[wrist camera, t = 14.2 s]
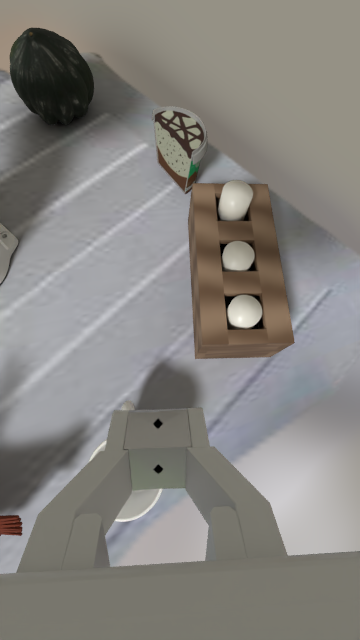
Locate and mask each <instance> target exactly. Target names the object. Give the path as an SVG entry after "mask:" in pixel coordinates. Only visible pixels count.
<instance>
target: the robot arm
mask: <svg viewBox="0 0 360 640" xmlns="http://www.w3.org/2000/svg"><path fill="white" fill-rule="evenodd" d="M5 237H6V238H5ZM17 245H18V239H17V238H16V237H15V236H14V235H13V234H12V233H11V232H10V231H9V230H7V229H6V228H5V227H4V226H3V225H2V224H1V223H0V284H1V282H2V281H3V279H4V278H5V276H6V274H7V271H8V268H9V262H10V257H11V255H12V253H13V252H14V250H15V249H16V247H17ZM167 488H186V491H187V493H188V494H189V496H190V497H191V499H192V500H193V502H194V503H195V505H196V506H197V508H198V510H199V511H200V513H201V514H202V516H203V517H204V519H205V520H206V522H207V523H208V525H209V530H208V539H207V550H206V559H205V561H197V562H182V563H165V564H150V565H134V566H119V567H110V562H109V556H108V551H107V545H106V539H105V535H106V533H107V532H108V530H109V528H110V527H111V525H112V524H113V522H114V520H115V519H116V517H117V516H118V514H119V513H120V511H121V509H122V508H123V506H124V505H125V503H126V501H127V500H128V498H129V497H130V495H131V494H132V491H135V490H148V489H167ZM0 640H360V551H355V552H339V553H324V554H308V555H292V556H288V555H287V552H286V549H285V547H284V544H283V541H282V538H281V535H280V532H279V529H278V526H277V523H276V520H275V517H274V514H273V511H272V508H271V505H270V503H269V502H268V501H267V500H266V499H265V498H264V497H263V496H262V495H261V494H260V493H259V492H258V491H257V490H256V488H254V486H253V485H252V484H251V483H250V482H248V481H247V479H245V478H244V476H243V475H242V474H241V473H240V472H239V471H238V470H237V469H236V468H235V467H234V466H233V465H232V464H231V463H230V462H229V461H228V460H227V459H226V458H225V457H224V456H223V455H222V454H221V453H220V452H219V451H218V450H217V449H216V448H215V447H210V445H209V440H208V435H207V429H206V424H205V418H204V413H203V409H202V408H183V409H158V410H114V412H113V414H112V419H111V423H110V428H109V433H108V437H107V442H106V446H105V451H100V452H99V453H98V454H97V455H96V456H95V457H94V458H93V459H92V460H91V461H90V462H89V463H88V464H87V465H86V466H85V467H84V468H83V469H82V470H81V471H80V472H79V473H78V474H77V475H76V476H75V477H74V478H73V479H72V480H71V481H70V482H69V483H68V484H67V485H66V486H65V487H64V489H63V490H62V491H61V492H60V493H59V494H58V495H57V496H56V497H55V498H54V499H53V500H52V501H51V502H50V503H49V504H48V505H47V506H46V507H45V508H44V509H43V510H42V511H41V512H40V513H39V514H38V517H37V519H36V522H35V525H34V527H33V530H32V532H31V535H30V538H29V540H28V543H27V546H26V548H25V551H24V554H23V556H22V559H21V562H20V564H19V567H18V570H17V572H16V573H9V574H0Z"/></svg>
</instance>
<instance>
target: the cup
mask: <svg viewBox="0 0 360 640" xmlns="http://www.w3.org/2000/svg"><path fill="white" fill-rule="evenodd" d="M122 410H135V408H134V404H133V403H132V402H131V401H126V402H125V403H124V404H123V406H122ZM106 442H107V440H105V441H104V442H103V443H101V444H100V445H99V446H98V447H97V449H96V450H95V451H94V453H93V454H92V456H91V458H90V460H89V462H90V461H91V460H92V459H93V458H94V457H95V456H96V455H97V454H98V453H99V452H100V451H105V446H106ZM161 492H162V489H148V490H135V491H132V494H131V495H130V497H129V498H128V500H127V501H126V503H125V505H124V506H123V508H122V509H121V511H120V513H119V514H118V516H117V517H116V519H115V520H114V521H131V520H134V519H137V518H139V517H141V516H143V515H144V514H145V513H147V512H148V511H149V510H150V509H151V508H152V507H153V506H154V505H155V503H156V502H157V500H158V498H159V497H160V494H161Z"/></svg>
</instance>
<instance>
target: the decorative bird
mask: <svg viewBox="0 0 360 640" xmlns="http://www.w3.org/2000/svg"><path fill="white" fill-rule="evenodd" d="M20 520H21V518H19V515H8V516H0V536H1V534H4V535H20V536H21V535H22V533H21V532H22V527H20V526H21V525H22V522H20Z"/></svg>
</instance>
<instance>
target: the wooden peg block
mask: <svg viewBox="0 0 360 640" xmlns="http://www.w3.org/2000/svg"><path fill="white" fill-rule="evenodd" d="M224 185H225V184H206V183H192V192H191V200H190V209H189V217H188V229H189V249H190V268H191V287H192V306H193V326H194V345H195V359H207V358H250V357H271V356H273V355H274V354H276V353H278V352H280V351H281V350H283V349H285V348H286V347H288V346H290V345H292V344H293V343H295V342H294V336H293V331H292V325H291V319H290V313H289V307H288V301H287V295H286V290H285V284H284V278H283V272H282V266H281V260H280V254H279V249H278V243H277V237H276V231H275V225H274V219H273V214H272V208H271V202H270V196H269V190H268V185H267V184H248V185H249V186H250V187H251V188H252V191H253V197H252V200H251V202H250V205H249V207H248V210H247V212H246V215H245V217H244V220H243V221H218V219H217V210H218V206H219V202H220V198H221V194H222V190H223V187H224ZM233 241H242V242H245V243H247V244H248V245H250V246H251V247H252V249H253V251H254V255H255V257H254V260H253V262H252V264H251V271H246V272H222V265H221V254H220V244H229V243H231V242H233ZM239 295H249V296H255V299H256V300H257V301H258V302H259V303H260V305H261V307H262V316H261V318H260V320H259V321H258V324H259V329H248V330H228V329H227V318H226V308H225V297H224V296H239Z"/></svg>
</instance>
